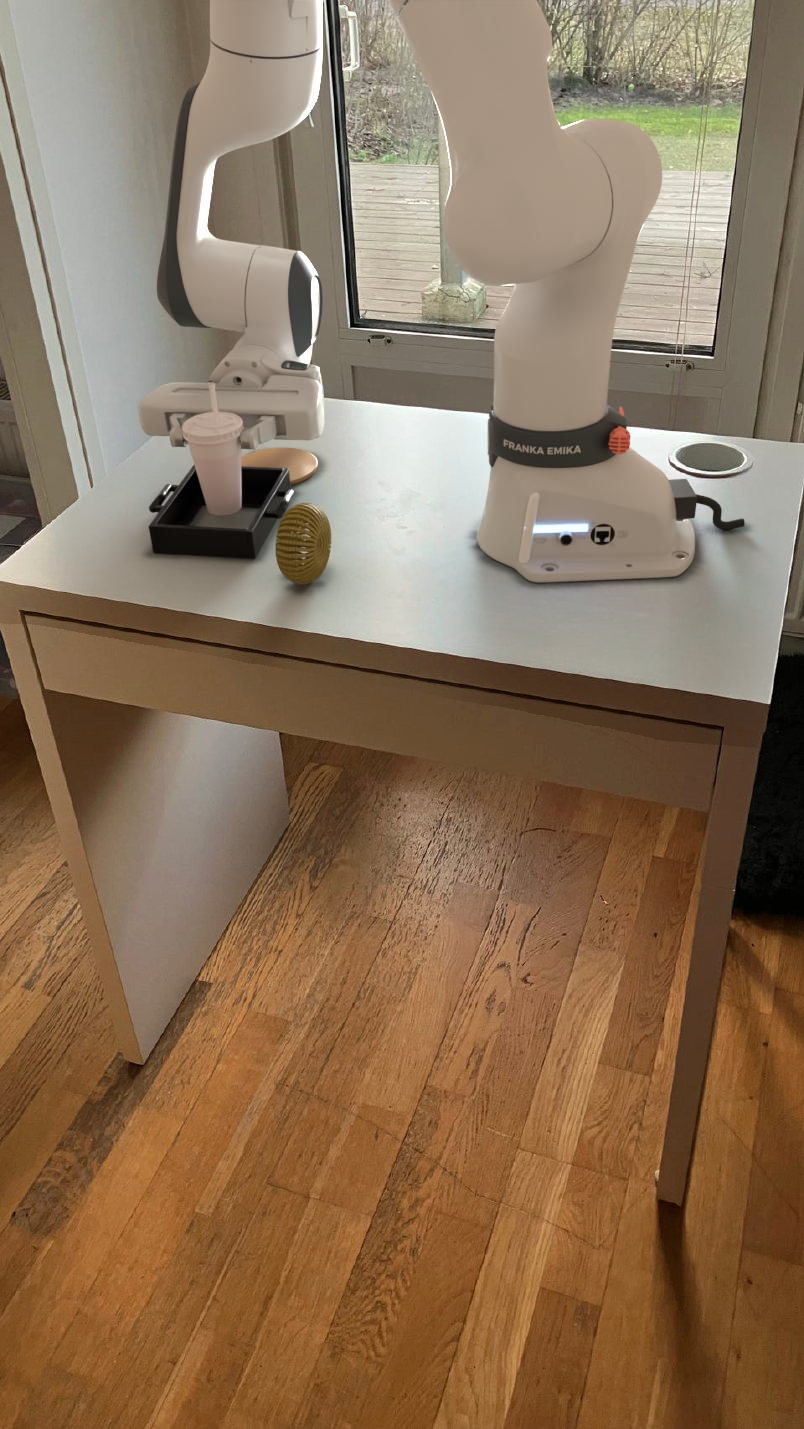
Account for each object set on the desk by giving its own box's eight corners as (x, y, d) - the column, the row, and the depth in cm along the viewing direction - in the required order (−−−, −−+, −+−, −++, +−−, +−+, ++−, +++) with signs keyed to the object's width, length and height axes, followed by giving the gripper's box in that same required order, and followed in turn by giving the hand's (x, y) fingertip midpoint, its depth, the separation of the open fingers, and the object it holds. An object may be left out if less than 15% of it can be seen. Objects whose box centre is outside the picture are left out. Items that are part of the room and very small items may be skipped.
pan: (307, 494, 135) (305, 468, 133) (272, 560, 123) (269, 532, 121) (182, 489, 137) (178, 463, 135) (136, 552, 125) (131, 525, 123)
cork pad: (326, 452, 144) (325, 448, 144) (306, 489, 136) (306, 485, 136) (246, 449, 145) (246, 445, 145) (223, 485, 138) (222, 481, 137)
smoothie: (243, 522, 126) (226, 396, 117) (186, 519, 127) (165, 393, 119) (261, 495, 131) (245, 372, 122) (206, 492, 132) (187, 370, 124)
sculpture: (303, 557, 123) (296, 487, 118) (339, 562, 122) (333, 491, 117) (273, 596, 117) (264, 523, 112) (311, 601, 116) (304, 528, 111)
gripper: (157, 362, 134) (112, 410, 123) (333, 366, 131) (302, 415, 120) (166, 415, 138) (123, 466, 127) (337, 420, 134) (308, 473, 124)
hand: (212, 441), depth 123 cm, fingers closed on smoothie, 6 cm apart
